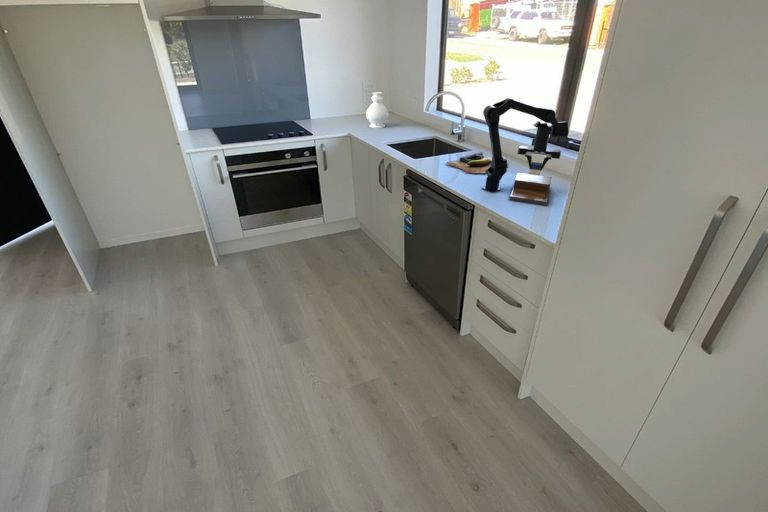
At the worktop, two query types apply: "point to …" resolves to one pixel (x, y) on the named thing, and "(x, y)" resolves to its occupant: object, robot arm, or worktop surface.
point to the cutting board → (473, 165)
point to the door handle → (472, 157)
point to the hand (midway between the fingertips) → (535, 169)
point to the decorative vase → (377, 111)
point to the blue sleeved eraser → (535, 168)
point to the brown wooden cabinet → (531, 189)
